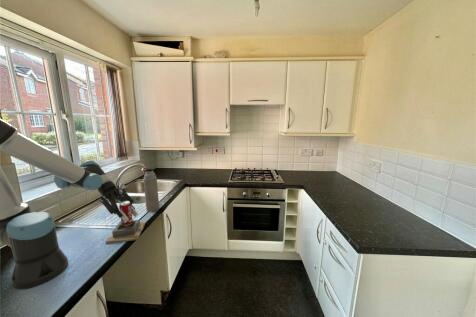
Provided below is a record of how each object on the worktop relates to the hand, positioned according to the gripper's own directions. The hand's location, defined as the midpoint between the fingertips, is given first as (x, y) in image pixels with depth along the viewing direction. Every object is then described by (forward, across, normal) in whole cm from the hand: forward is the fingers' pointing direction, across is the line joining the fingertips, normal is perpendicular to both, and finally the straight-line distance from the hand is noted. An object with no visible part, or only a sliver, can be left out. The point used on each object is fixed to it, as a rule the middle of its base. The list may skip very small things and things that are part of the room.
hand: (131, 218), depth 98 cm
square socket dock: (+4, +1, -9) cm, 10 cm away
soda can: (0, 0, -6) cm, 6 cm away
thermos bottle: (-1, -26, -14) cm, 30 cm away
